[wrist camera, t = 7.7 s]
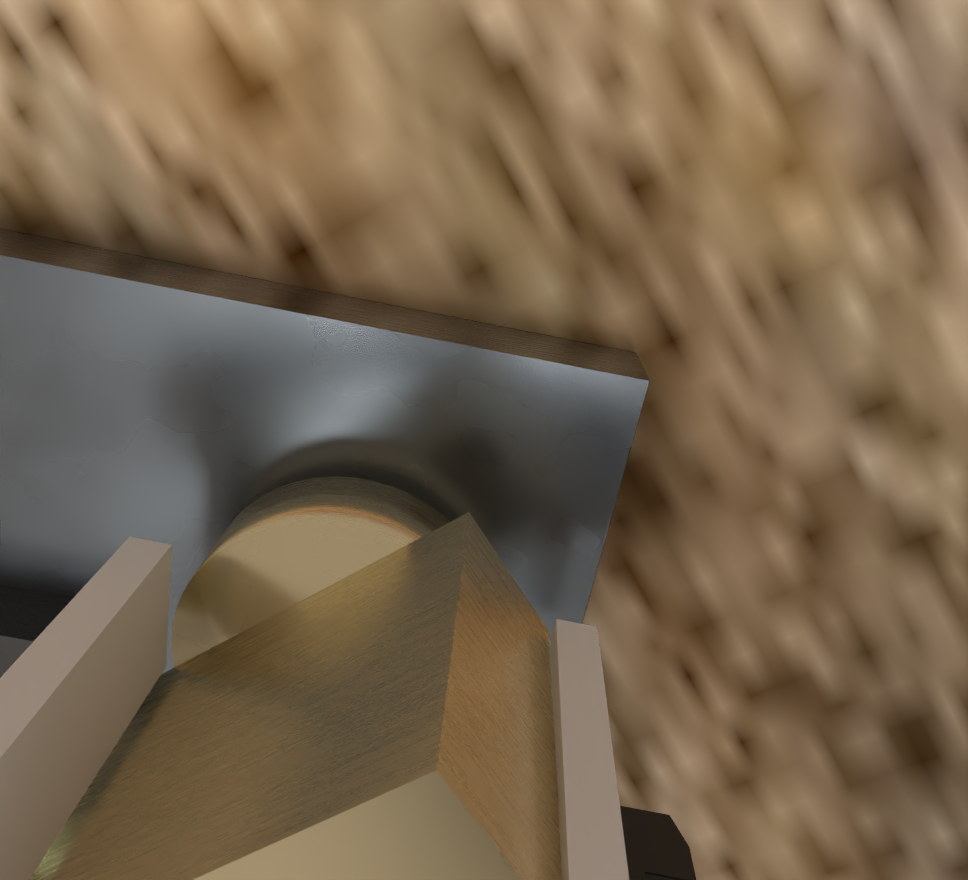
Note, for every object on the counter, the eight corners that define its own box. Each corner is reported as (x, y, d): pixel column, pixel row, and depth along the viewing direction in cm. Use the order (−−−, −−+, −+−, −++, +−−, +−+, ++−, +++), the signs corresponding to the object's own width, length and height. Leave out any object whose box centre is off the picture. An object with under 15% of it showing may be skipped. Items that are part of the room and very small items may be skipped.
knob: (431, 399, 15) (338, 699, 8) (582, 629, 17) (636, 1072, 9) (114, 580, 17) (-232, 978, 9) (281, 771, 19) (111, 1244, 11)
